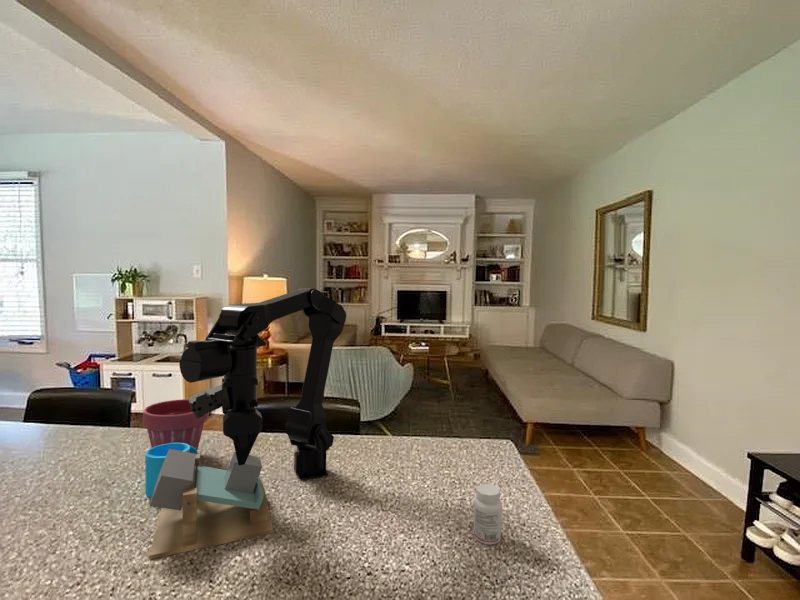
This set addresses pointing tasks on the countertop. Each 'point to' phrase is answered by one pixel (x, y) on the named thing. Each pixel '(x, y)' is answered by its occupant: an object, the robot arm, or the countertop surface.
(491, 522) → the pill bottle
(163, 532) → the frame
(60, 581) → the countertop surface
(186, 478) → the trapdoor
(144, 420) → the plant pot
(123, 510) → the countertop surface
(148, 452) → the mug
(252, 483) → the gray cube
